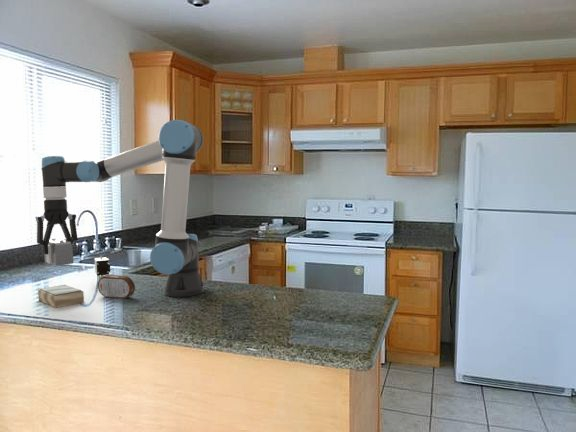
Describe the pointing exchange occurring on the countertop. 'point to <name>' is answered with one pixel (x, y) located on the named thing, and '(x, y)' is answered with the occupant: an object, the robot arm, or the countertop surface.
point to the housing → (60, 252)
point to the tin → (116, 286)
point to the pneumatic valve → (102, 267)
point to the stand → (60, 295)
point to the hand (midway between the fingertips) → (58, 261)
